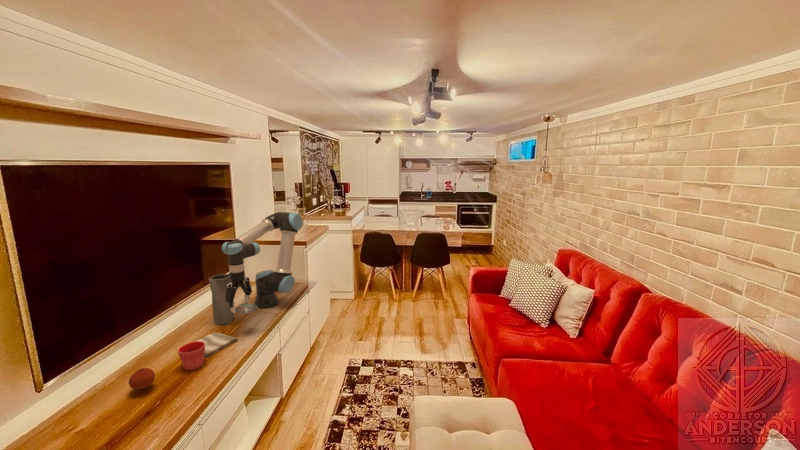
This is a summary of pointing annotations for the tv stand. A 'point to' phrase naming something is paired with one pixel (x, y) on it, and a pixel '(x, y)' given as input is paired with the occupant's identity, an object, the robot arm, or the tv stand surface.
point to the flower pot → (192, 355)
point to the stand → (216, 343)
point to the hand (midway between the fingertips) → (240, 308)
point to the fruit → (142, 378)
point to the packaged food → (245, 308)
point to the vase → (220, 299)
